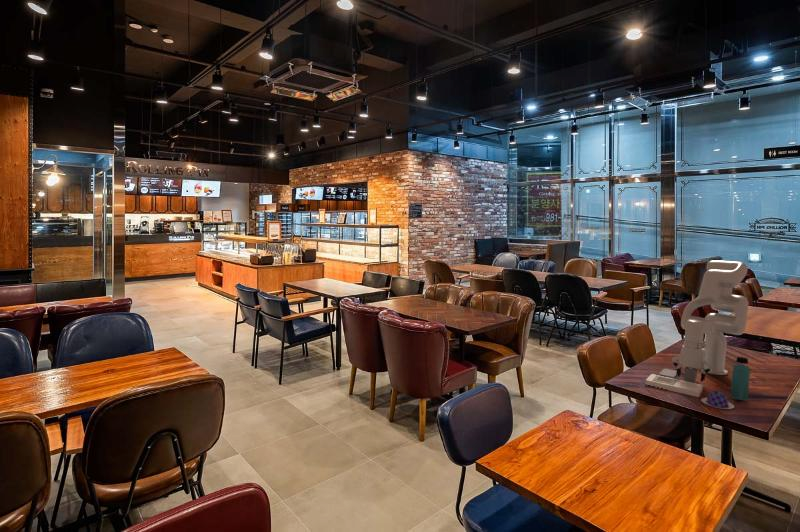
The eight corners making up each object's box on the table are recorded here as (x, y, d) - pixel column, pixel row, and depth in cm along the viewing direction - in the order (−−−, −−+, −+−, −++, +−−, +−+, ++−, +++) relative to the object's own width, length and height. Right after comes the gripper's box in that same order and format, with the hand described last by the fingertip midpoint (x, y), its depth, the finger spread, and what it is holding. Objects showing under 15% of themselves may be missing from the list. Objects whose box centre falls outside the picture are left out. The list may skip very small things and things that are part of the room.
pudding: (701, 397, 206) (702, 386, 205) (734, 403, 198) (735, 392, 198) (700, 405, 196) (701, 394, 195) (734, 413, 189) (735, 401, 188)
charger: (685, 381, 224) (686, 364, 223) (695, 383, 221) (697, 366, 220) (683, 384, 221) (685, 366, 220) (694, 386, 218) (696, 368, 217)
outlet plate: (651, 378, 228) (651, 373, 228) (702, 389, 214) (703, 384, 213) (645, 384, 219) (645, 379, 219) (698, 397, 205) (699, 391, 204)
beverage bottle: (750, 404, 198) (755, 360, 195) (733, 402, 199) (738, 359, 197) (742, 398, 204) (747, 356, 202) (726, 397, 205) (730, 354, 203)
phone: (663, 370, 243) (664, 368, 242) (678, 373, 238) (679, 371, 238) (658, 376, 233) (658, 374, 233) (673, 379, 228) (673, 377, 228)
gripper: (715, 346, 216) (712, 380, 218) (674, 339, 228) (671, 372, 229) (713, 350, 211) (710, 385, 212) (671, 342, 222) (668, 376, 224)
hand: (690, 378), depth 221 cm, fingers open, 9 cm apart
